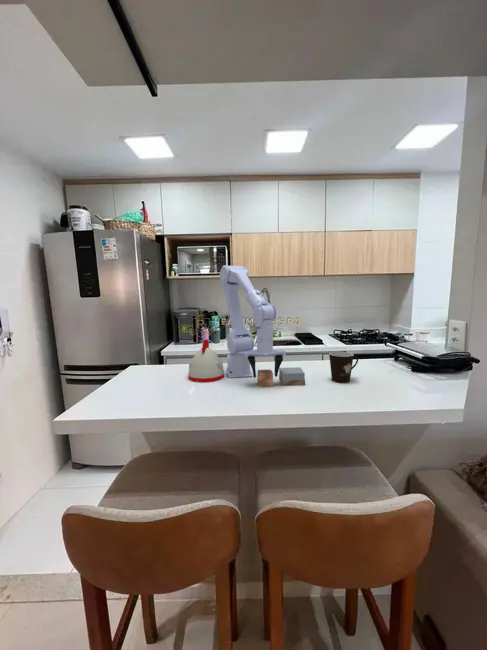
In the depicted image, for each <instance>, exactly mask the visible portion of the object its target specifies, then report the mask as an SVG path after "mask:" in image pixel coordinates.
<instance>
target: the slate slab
mask: <svg viewBox="0 0 487 650" xmlns="http://www.w3.org/2000/svg"><path fill="white" fill-rule="evenodd" d="M279 375H280V377H281V379H282V381H283V380H305V381H306V379H305V372H304V371H303V369H302V368H301V367H299V366H297V367H279V370H278V376H279Z"/></svg>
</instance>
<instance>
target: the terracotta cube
mask: <svg viewBox="0 0 487 650" xmlns="http://www.w3.org/2000/svg"><path fill="white" fill-rule="evenodd" d="M257 385H258V387H259V388H273V387H274V372H273V370H272V369H257Z"/></svg>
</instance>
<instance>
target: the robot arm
mask: <svg viewBox="0 0 487 650" xmlns="http://www.w3.org/2000/svg"><path fill="white" fill-rule="evenodd" d="M219 278H220V284H221V288H222V289H223V290H224V295H225V300H226V306H227V310H228V316H229V321H230V326H231V331H230V332H229V333H228V334H227V336H226V339H227V342H226V346H227V350H228V351H229V353H227V355H226V356H227V367H226V372H227V378H248V377H252V376H253V378H256V377H257V372H256V358H259V357H260V358H262V357H263V358H265V357H274V372H273V374H274V376H275V377H276V378H277V377H278V376H279V368H281V367H280V366H281V365H282V362H283V360H284V357H286V355H287V354H286V350H285V349H283V350H282V349H274V348H273V347H274V335H273V334H274V323H273V322H274V321H275V319H276V317H277V310H276V308H275V305H274V304H272V303H269V302H267V300H266V299H265V297H264V296H263V295H262V293H261V290H258V289H255V288H254V286H253V284H252V281H251V280H250V278H249V270H248V269H247V267H246V266H244V265H241V266H240V265H226V264H225V265H224V264H223V266H222V267H221V268H220V271H219ZM239 289H241V290H243V292H244V293H245V294H246V296H245V300H246V301H247V303H248V305H249V306H250V308H251V310H252V311H253V313H252V317H253V320H254V325H255V327H256V350H254V349H255V339H254V338H253V335H252V332H251V331H250V330H249V329H247V328H246V327H245V323H244V322H245V321H244V318H243V312H242V308H241V301H240V299H239V298H240V297H239V292H238V291H239ZM251 369H252V371H251Z"/></svg>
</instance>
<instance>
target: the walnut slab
mask: <svg viewBox="0 0 487 650" xmlns="http://www.w3.org/2000/svg"><path fill="white" fill-rule="evenodd" d="M278 381H279V382H280V383H281V385H282V386H283V387H287V386H288V387H291V386H293V387H294V386H306V379H305V380H283V381H282V379H281V377H280V375H279V374H278Z"/></svg>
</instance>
